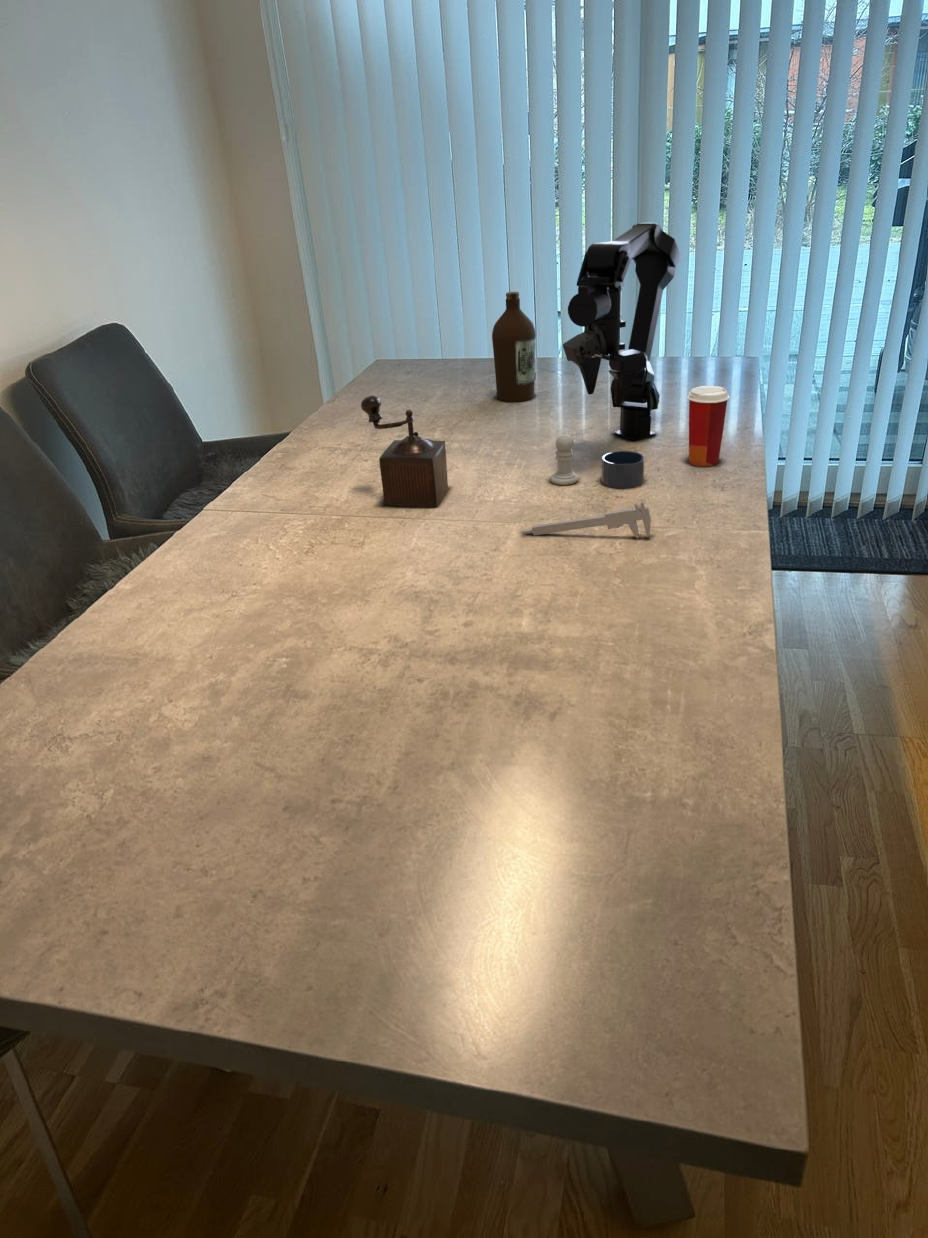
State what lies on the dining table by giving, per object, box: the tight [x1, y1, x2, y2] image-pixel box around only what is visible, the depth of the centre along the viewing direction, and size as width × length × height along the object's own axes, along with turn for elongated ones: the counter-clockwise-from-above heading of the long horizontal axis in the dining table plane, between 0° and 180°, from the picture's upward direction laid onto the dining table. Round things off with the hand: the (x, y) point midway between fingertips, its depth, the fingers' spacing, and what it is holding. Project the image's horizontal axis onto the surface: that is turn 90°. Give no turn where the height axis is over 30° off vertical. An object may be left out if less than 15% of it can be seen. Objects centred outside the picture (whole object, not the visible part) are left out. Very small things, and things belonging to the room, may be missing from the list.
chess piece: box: [549, 433, 579, 486], centre depth 167 cm, size 5×5×9 cm
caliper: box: [524, 500, 652, 539], centre depth 145 cm, size 20×1×6 cm, turn 78°
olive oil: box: [491, 291, 537, 403], centre depth 218 cm, size 11×11×25 cm
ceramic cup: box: [600, 450, 646, 489], centre depth 166 cm, size 8×8×5 cm
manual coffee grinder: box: [360, 395, 450, 508], centre depth 163 cm, size 16×11×18 cm
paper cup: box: [686, 385, 730, 467], centre depth 171 cm, size 8×8×14 cm
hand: (604, 398), depth 174 cm, fingers open, 9 cm apart
